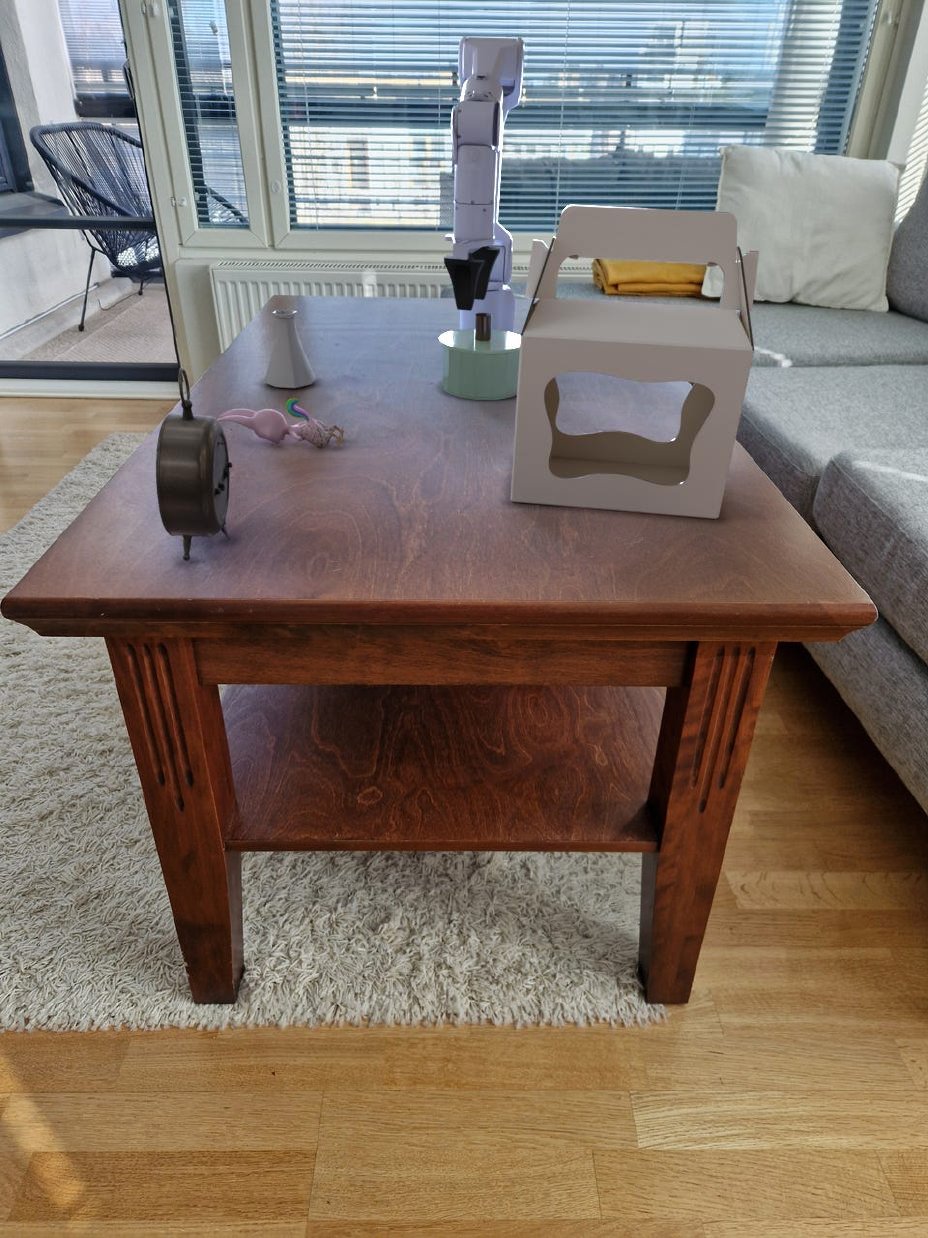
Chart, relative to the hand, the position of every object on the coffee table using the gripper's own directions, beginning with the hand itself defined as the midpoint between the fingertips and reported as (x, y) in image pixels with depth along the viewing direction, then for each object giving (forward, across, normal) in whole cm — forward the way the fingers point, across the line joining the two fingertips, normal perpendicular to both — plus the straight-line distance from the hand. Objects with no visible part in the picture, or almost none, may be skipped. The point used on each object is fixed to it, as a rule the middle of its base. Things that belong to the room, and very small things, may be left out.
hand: (471, 304), depth 122 cm
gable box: (+10, +37, +26) cm, 47 cm away
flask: (+10, +14, -24) cm, 29 cm away
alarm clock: (+10, +63, -9) cm, 64 cm away
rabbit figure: (+10, +37, -14) cm, 41 cm away
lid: (+4, +6, +3) cm, 8 cm away
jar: (+10, +6, +4) cm, 13 cm away
